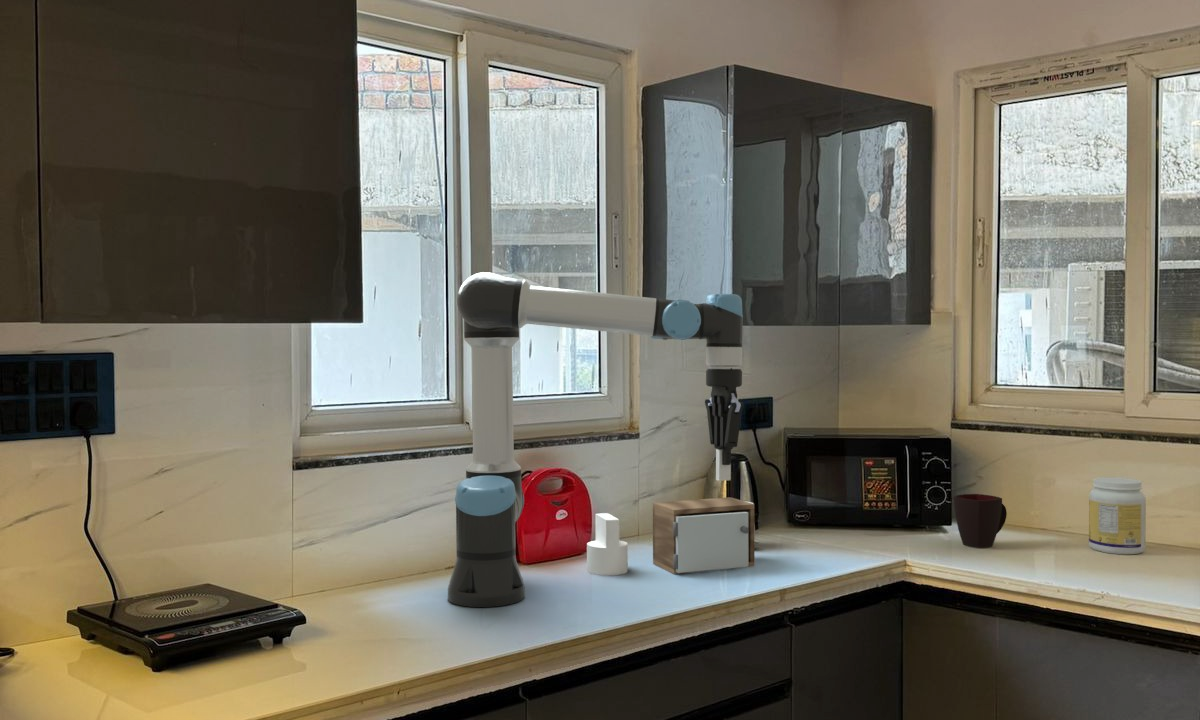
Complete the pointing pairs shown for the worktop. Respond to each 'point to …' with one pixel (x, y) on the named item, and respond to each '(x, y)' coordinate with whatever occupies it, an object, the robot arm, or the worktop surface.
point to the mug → (979, 518)
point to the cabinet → (670, 510)
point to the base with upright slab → (607, 548)
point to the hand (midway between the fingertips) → (723, 479)
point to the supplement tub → (1117, 516)
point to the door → (711, 542)
